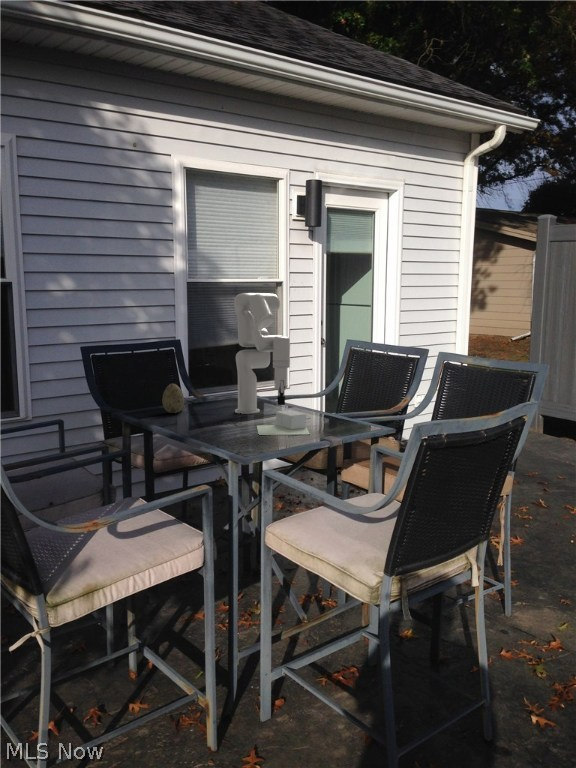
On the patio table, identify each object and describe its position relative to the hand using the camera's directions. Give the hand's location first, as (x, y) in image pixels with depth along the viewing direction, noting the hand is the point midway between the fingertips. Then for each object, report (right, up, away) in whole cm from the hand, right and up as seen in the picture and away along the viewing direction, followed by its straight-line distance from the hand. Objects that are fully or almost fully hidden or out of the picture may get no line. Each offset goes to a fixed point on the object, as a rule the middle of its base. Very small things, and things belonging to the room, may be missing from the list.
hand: (281, 404), depth 306 cm
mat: (+1, -11, -7) cm, 13 cm away
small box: (+1, -6, +6) cm, 8 cm away
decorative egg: (-54, -6, +34) cm, 64 cm away
